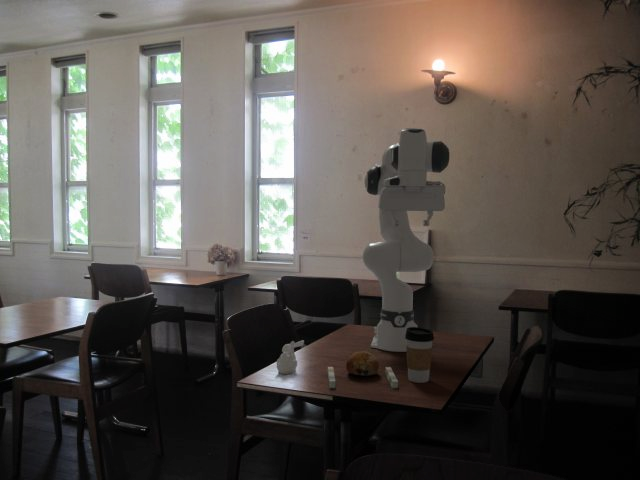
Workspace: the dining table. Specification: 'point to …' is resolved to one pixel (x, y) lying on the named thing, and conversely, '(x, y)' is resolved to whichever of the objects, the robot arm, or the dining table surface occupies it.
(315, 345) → the dining table surface
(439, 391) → the dining table surface
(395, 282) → the robot arm
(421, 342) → the coffee cup
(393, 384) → the channel
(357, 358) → the bread roll
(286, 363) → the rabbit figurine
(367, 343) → the dining table surface
